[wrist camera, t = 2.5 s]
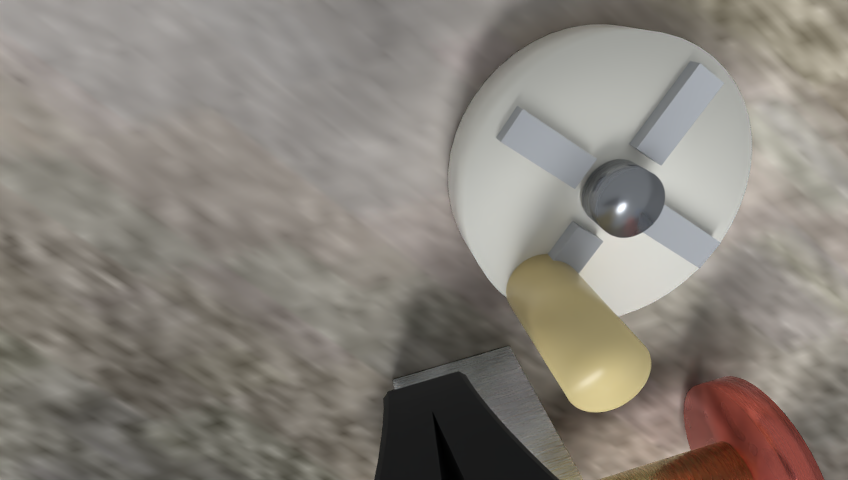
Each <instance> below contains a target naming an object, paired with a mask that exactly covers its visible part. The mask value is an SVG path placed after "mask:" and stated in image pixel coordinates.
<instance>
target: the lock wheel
mask: <svg viewBox="0 0 848 480" xmlns="http://www.w3.org/2000/svg"><path fill="white" fill-rule="evenodd" d="M751 157H752V134H751V127H750V121H749V116H748V112H747V109H746V106H745V103H744V100H743V97H742V95H741V93H740V91H739V89H738V87H737V85H736V83H735V82H734V80H733V79H732V78H731V76H730V75H729V73H728V72H727V70H726V69H725V68H724V67H723V66H722V65H721V64H720V63H719V62H718V61H717V60H716V59H715V58H714V57H713V56H712V55H710V54H709V53H707V52H706V51H705V50H703V49H702V48H700V47H699V46H697V45H695V44H693V43H691V42H689V41H687V40H685V39H683V38H680V37H677V36H673V35H670V34H666V33H663V32H656V31H650V30H644V29H638V28H631V27H625V26H617V25H609V24H592V25H582V26H577V27H571V28H567V29H564V30H561V31H558V32H554V33H551V34H549V35H547V36H545V37H542V38H540V39H538V40H536V41H534V42H532V43H530V44H529V45H527V46H526V47H524V48H523V49H521V50H520V51H518V52H516V53H515V54H514V55H512V56H511V57H510V58H509V59H508V60H506V61H505V62H504V63H503V64H502V65H500V66H499V67H498V68H497V69H496V70H495V72H494V73H493V74H492V75H491V76H490V77H489V78H488V79H487V80H486V81H485V82H484V84H483V85H482V86H481V88H480V89H479V91H478V92H477V93H476V95H475V96H474V97H473V99H472V101H471V102H470V104H469V106H468V108H467V110H466V111H465V113H464V115H463V117H462V120H461V122H460V124H459V127H458V129H457V132H456V134H455V138H454V142H453V145H452V149H451V154H450V161H449V168H448V191H449V199H450V206H451V209H452V213H453V216H454V220H455V223H456V225H457V227H458V229H459V232H460V234H461V236H462V238H463V239H464V241H465V243H466V244H467V246H468V248H469V249H470V251H471V253H472V254H473V256H474V258H475V259H476V261H477V263H478V264H479V266H480V267H481V269H482V270H483V272H484V274H485V275H486V277H487V278H488V279H489V281H490V282H491V283H492V284H493V285H494V286H495V287H496V289H497V290H498V291H499V292H501V293H502V294H503V295H504V296H505V297H507V300H508V303H509V305H510V306H511V308H512V310H513V311H514V313H515V314H516V316H517V318H518V319H519V321H520V322H521V324H522V326H523V327H524V329H525V330H526V332H527V334H528V335H529V337H530V338H531V340H532V342H533V343H534V345H535V347H536V348H537V350H538V351H539V353H540V355H541V356H542V358H543V359H544V361H545V363H546V364H547V366H548V367H549V369H550V371H551V372H552V374H553V376H554V377H555V379H556V380H557V382H558V384H559V385H560V387H561V388H562V390H563V392H564V393H565V395H566V396H567V398H568V400H569V401H570V402H571V403H572V404H573V405H574V406H575V407H577V408H579V409H581V410H583V411H587V412H605V411H609V410H612V409H615V408H618V407H620V406H622V405H624V404H625V403H627V402H628V401H630V400H631V399H632V398H633V397H635V396H636V395H637V394H638V393H639V392H640V390H641V389H642V388H643V387H644V385H645V383H646V382H647V379H648V377H649V374H650V370H651V357H650V354H649V352H648V350H647V348H646V347H645V346H644V345H643V343H642V342H641V341H640V340H639V339H638V338H637V337H636V336H635V335H634V334H633V333H632V331H631V330H630V329H629V328H628V327H627V326H626V325H625V324H624V323H623V322H622V321H621V319H620V318H619V317H618V316H621V315H624V314H627V313H630V312H633V311H635V310H638V309H640V308H642V307H644V306H647V305H649V304H651V303H653V302H655V301H656V300H658V299H660V298H661V297H663V296H665V295H666V294H668V293H670V292H671V291H672V290H674V289H675V288H676V287H678V286H679V285H680V284H682V283H683V282H684V281H685V280H687V279H688V278H689V277H690V276H691V275H692V274H693V273H694V272H695V271H697V270H698V269H699V268H700V267H701V266H702V265H703V264H704V262H705V261H706V260H707V259H708V258H709V257H710V255H711V254H712V253H713V252H714V250H715V249H716V248H717V247H718V246H719V244H720V242H721V241H722V239H723V238H724V236H725V234H726V233H727V231H728V229H729V228H730V226H731V224H732V222H733V220H734V218H735V216H736V214H737V212H738V210H739V207H740V205H741V202H742V199H743V196H744V193H745V190H746V187H747V182H748V178H749V173H750V167H751ZM616 159H625V160H629V161H632V162H634V163H636V164H637V165H639V166H641V167H643V168H644V169H646V170H648V171H650V172H651V173H653V174H655V175H656V176H657V177H658V178H659V179H660V180H661V182H662V184H663V186H664V190H665V202H664V206H663V209H662V212H661V214H660V216H659V217H658V219H657V220H656V221H655V223H654V224H653V225H652V226H651V227H650V228H648V229H647V230H646V231H644V232H642V233H641V234H638V235H636V236H633V237H628V238H619V237H615V236H612V235H610V234H608V233H607V232H606V231H604V230H603V229H602V228H601V227H600V226H599V225H597V224H596V223H595V222H594V221H593V220H591V219H590V218H589V217H588V216H587V214H586V213H585V211H584V209H583V206H582V191H583V187H584V185H585V183H586V181H587V179H588V177H589V176H590V175H591V173H592V172H593V171H594V170H595V169H597V168H598V167H599V166H601V165H602V164H604V163H606V162H608V161H611V160H616Z"/></svg>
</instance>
